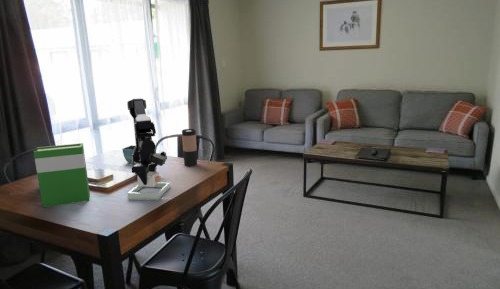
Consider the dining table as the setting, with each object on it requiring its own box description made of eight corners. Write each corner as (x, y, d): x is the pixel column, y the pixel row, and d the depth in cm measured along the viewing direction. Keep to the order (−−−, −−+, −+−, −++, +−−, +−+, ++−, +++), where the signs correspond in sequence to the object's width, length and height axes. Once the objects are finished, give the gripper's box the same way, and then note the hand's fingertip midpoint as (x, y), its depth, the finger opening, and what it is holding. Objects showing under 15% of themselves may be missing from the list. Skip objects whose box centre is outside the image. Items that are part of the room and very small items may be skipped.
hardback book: (42, 207, 148) (33, 151, 142) (45, 200, 155) (36, 147, 149) (89, 200, 154) (81, 146, 149) (89, 194, 161) (82, 143, 155)
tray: (128, 199, 155) (127, 192, 154) (142, 187, 168) (141, 181, 168) (158, 200, 153) (158, 194, 152) (170, 188, 166) (170, 182, 166)
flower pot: (145, 160, 213) (143, 146, 210) (136, 164, 205) (134, 149, 202) (132, 159, 215) (131, 145, 213) (123, 163, 207) (121, 148, 205)
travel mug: (181, 165, 201) (179, 131, 196) (188, 162, 208) (186, 128, 203) (193, 167, 198) (191, 132, 193) (200, 163, 205) (198, 129, 200)
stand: (141, 186, 170) (140, 172, 169) (150, 179, 180) (149, 165, 178) (161, 186, 169) (160, 172, 167) (169, 179, 178) (168, 166, 177)
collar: (156, 186, 155) (156, 177, 154) (138, 186, 157) (137, 176, 155) (163, 181, 162) (162, 171, 161) (145, 180, 163) (144, 171, 162)
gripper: (154, 154, 145) (158, 190, 149) (171, 143, 163) (173, 175, 167) (129, 153, 147) (132, 189, 151) (148, 142, 165) (150, 174, 169)
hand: (148, 181), depth 159 cm, fingers closed on collar, 7 cm apart
